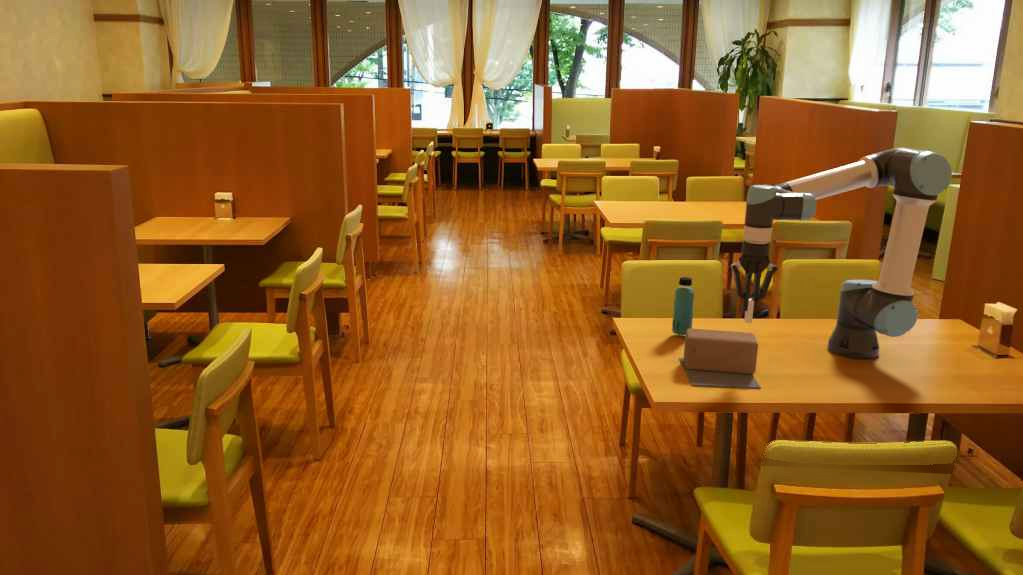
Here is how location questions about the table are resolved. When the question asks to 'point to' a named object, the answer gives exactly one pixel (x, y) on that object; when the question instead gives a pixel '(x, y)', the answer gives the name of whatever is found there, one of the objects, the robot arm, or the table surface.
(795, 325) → the table surface
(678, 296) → the beverage bottle
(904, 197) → the robot arm
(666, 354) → the table surface
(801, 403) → the table surface
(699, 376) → the mat
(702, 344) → the wooden block
